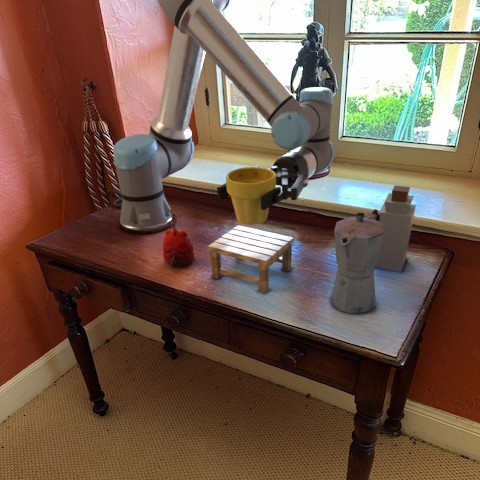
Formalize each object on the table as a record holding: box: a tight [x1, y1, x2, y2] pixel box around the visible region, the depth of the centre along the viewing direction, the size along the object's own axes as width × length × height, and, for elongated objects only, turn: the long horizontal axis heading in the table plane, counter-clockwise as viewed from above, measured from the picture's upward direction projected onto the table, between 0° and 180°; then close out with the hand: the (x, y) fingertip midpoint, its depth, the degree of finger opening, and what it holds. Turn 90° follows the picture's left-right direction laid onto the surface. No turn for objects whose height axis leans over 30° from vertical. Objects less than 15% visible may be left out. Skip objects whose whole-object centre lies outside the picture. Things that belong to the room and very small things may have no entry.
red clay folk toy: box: [162, 208, 195, 269], centre depth 108 cm, size 8×7×15 cm
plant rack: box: [207, 224, 295, 293], centre depth 105 cm, size 15×13×8 cm
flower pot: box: [225, 166, 277, 226], centre depth 97 cm, size 10×10×10 cm
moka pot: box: [331, 208, 384, 314], centre depth 90 cm, size 10×15×20 cm, turn 146°
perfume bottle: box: [374, 185, 417, 273], centre depth 103 cm, size 7×7×18 cm
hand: (239, 198), depth 94 cm, fingers closed on flower pot, 10 cm apart
